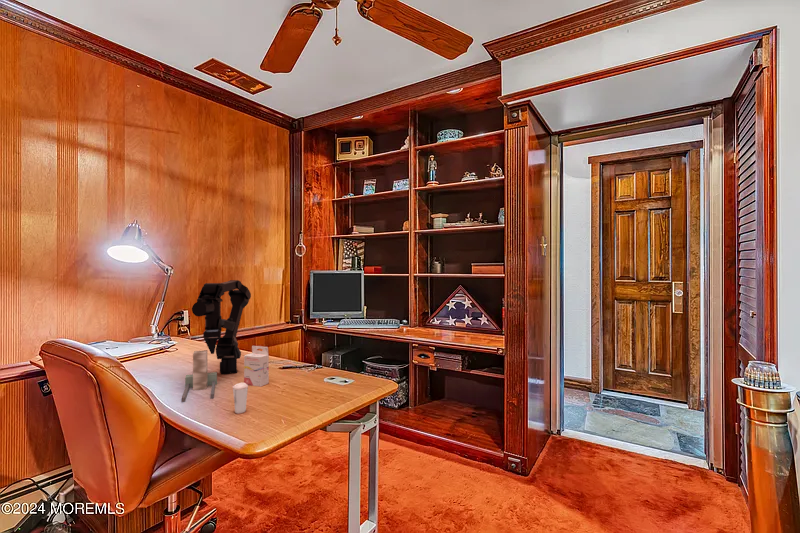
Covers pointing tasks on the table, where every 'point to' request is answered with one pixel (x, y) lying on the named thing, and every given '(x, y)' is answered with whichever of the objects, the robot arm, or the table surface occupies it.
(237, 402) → the milkshake
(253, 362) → the ink cartridge box
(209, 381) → the guide track
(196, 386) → the post
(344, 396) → the table surface
